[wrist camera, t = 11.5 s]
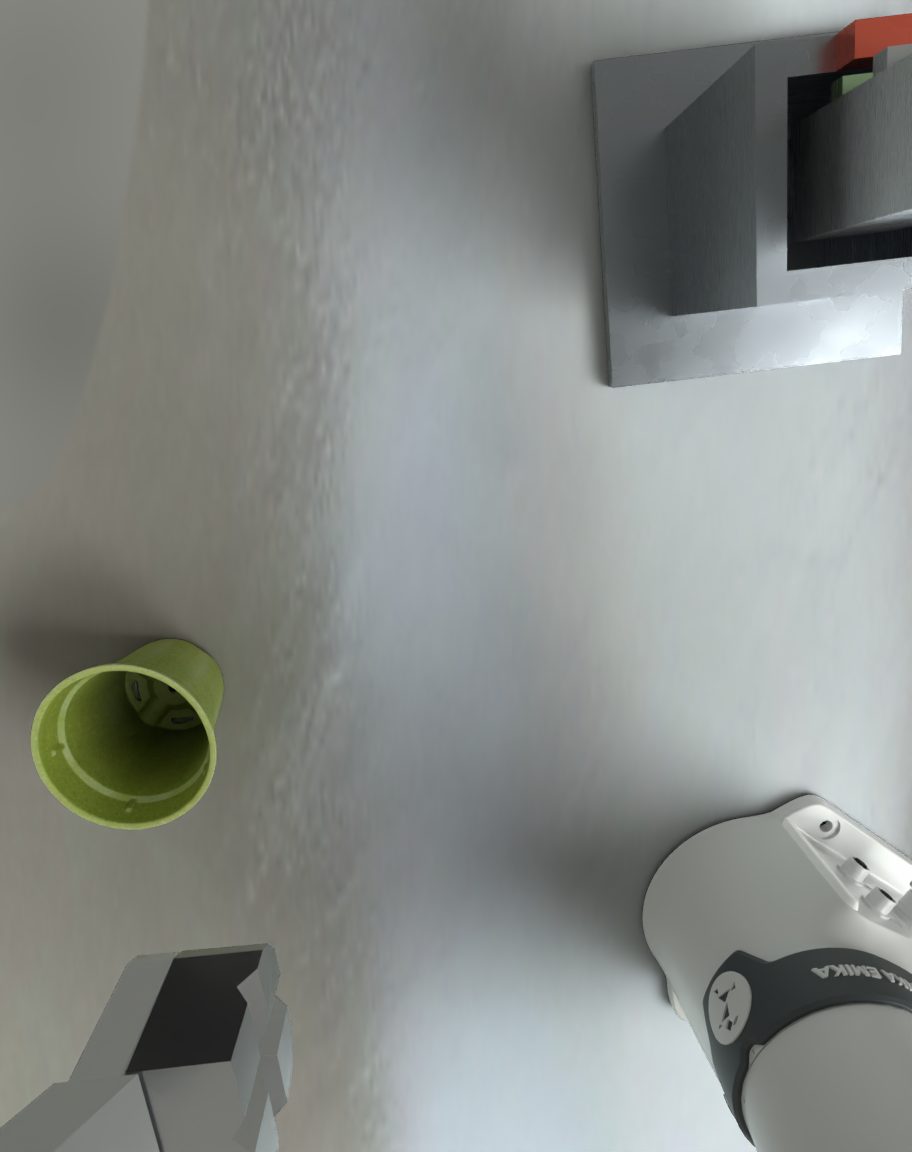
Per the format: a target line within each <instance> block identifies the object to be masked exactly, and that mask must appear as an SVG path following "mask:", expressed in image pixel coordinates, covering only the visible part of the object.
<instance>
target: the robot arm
mask: <svg viewBox="0 0 912 1152" xmlns="http://www.w3.org/2000/svg"><path fill="white" fill-rule="evenodd" d="M824 821H827V822H826V824H824V825H822V826H820V824H821V823H822V822H824ZM643 929H644V934H645V938H646V941H647V943H648V946H649V948H650V950H651V952H652V954H653V955H654V957H655V958H656V960H657V961H658V963H659V964H660V966H661V968H662V969H663V971H664V973H665V975H666V977H667V988H668V996H669V1000H670V1003H671V1005H672V1007H673V1009H674V1011H675V1013H676V1014H677V1016H678V1017H679V1018H681V1019H683V1020H685V1021H688V1022H689V1024H690V1026H691V1027H692V1029H693V1031H694V1033H695V1035H696V1037H697V1039H698V1041H699V1043H700V1045H701V1047H702V1049H703V1051H704V1053H705V1055H706V1057H707V1059H708V1061H709V1063H710V1065H711V1067H712V1068H713V1070H714V1072H715V1074H716V1076H717V1078H718V1080H719V1081H720V1083H721V1086H722V1088H723V1091H724V1093H725V1094H724V1095H723V1096H724V1098H725V1100H726V1103H727V1105H728V1107H729V1109H730V1111H731V1113H732V1114H733V1116H734V1117H735V1119H736V1121H737V1123H738V1125H739V1127H740V1129H741V1131H742V1132H743V1134H744V1135H745V1137H746V1138H747V1139H748V1140H749V1141H750V1143H751V1144H752V1145H753V1146H755V1147H756V1150H757V1152H912V860H911V859H909V858H908V857H906V856H905V855H903V854H902V853H901V852H899V851H898V850H896V849H895V848H893V847H892V846H890V845H889V844H888V843H886V842H885V841H883V840H882V839H880V838H879V837H877V836H876V835H875V834H873V833H872V832H870V831H869V830H867V829H866V828H864V827H863V826H862V825H860V824H859V823H857V822H856V821H854V820H853V819H851V818H850V817H849V816H847V815H846V814H844V813H843V812H841V811H840V810H838V809H837V808H836V807H834V806H833V805H831V804H830V803H828V802H827V801H825V800H824V799H822V798H821V797H819V796H816V795H805V796H802V797H799V798H796V799H794V800H792V801H790V802H788V803H786V804H784V805H782V806H781V807H779V808H777V809H775V810H774V811H772V812H769V813H766V814H762V815H757V816H751V817H744V818H738V819H734V820H729V821H726V822H723V823H720V824H717V825H714V826H712V827H709V828H707V829H705V830H703V831H701V832H699V833H697V834H696V835H694V836H692V837H691V838H689V839H688V840H686V841H685V842H684V843H682V844H681V845H680V846H679V847H678V848H676V849H675V850H674V851H673V852H672V853H671V854H670V855H669V856H668V857H667V858H666V860H665V861H664V862H663V863H662V865H661V866H660V867H659V869H658V870H657V872H656V873H655V875H654V877H653V879H652V881H651V883H650V885H649V887H648V890H647V893H646V896H645V900H644V905H643ZM279 977H280V969H279V965H278V961H277V957H276V953H275V949H274V948H273V947H272V946H271V945H270V944H269V943H266V944H254V945H243V946H232V947H221V948H209V949H198V950H187V951H182V952H172V953H161V954H151V955H141V956H137V957H135V958H134V959H133V960H132V961H130V962H129V963H128V964H127V966H126V967H125V969H124V971H123V973H122V975H121V977H120V979H119V981H118V983H117V985H116V987H115V989H114V991H113V993H112V995H111V997H110V999H109V1001H108V1003H107V1005H106V1007H105V1009H104V1011H103V1013H102V1015H101V1017H100V1019H99V1021H98V1023H97V1025H96V1027H95V1029H94V1031H93V1033H92V1035H91V1037H90V1039H89V1041H88V1043H87V1045H86V1047H85V1049H84V1051H83V1053H82V1055H81V1057H80V1059H79V1061H78V1063H77V1065H76V1067H75V1069H74V1071H73V1073H72V1075H71V1077H70V1079H69V1081H68V1082H62V1083H54V1084H53V1085H51V1086H50V1087H49V1088H48V1089H47V1090H45V1091H44V1092H43V1093H42V1094H41V1095H39V1096H38V1097H37V1098H36V1099H35V1100H33V1101H32V1102H31V1103H30V1104H29V1105H27V1106H26V1107H25V1108H24V1109H23V1110H21V1111H20V1112H19V1113H18V1114H17V1115H15V1116H14V1117H13V1118H12V1119H11V1120H9V1121H8V1122H7V1123H6V1124H5V1125H3V1126H2V1127H1V1128H0V1152H277V1151H278V1146H279V1139H278V1134H277V1129H276V1125H275V1120H274V1117H275V1115H276V1114H277V1113H278V1112H279V1111H280V1110H281V1109H282V1107H283V1106H284V1105H285V1104H286V1103H287V1100H288V1094H289V1089H290V1083H291V1077H292V1058H293V1041H292V1029H291V1021H290V1016H289V1011H288V1006H287V1005H286V1004H285V1003H284V1002H283V1001H281V1000H280V999H279V998H278V997H277V996H276V995H275V994H276V990H277V986H278V981H279Z"/></svg>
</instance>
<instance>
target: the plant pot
mask: <svg viewBox="0 0 912 1152" xmlns="http://www.w3.org/2000/svg"><path fill="white" fill-rule="evenodd" d="M134 681H137V682H138V691H139V695H140V697H141V701H139V700H137V699H136V697H135V695H134V691H133V687H132V684H133V682H134ZM169 686H171V687H172V688H174V689H175V690H176V691H170V689H169ZM223 695H224V681H223V677H222V674H221V671H220V669H219V667H218V665H217V664H216V662H215V661H214V659H213V658H212V657H211V656H209V655H208V654H206V653H205V652H203V651H202V650H200V649H199V648H197V647H196V646H194V645H193V644H192V643H189V642H187V641H183V640H178V639H162V640H157V641H154V642H151V643H149V644H147V645H145V646H143V647H141V648H139V649H137V650H136V651H134V652H133V653H131V654H129V655H128V656H126V657H124V658H123V659H121V660H119V661H117V662H116V663H109V664H102V665H97V666H93V667H90V668H87V669H84V670H81V671H79V672H77V673H74V674H73V675H71V676H69V677H67V678H66V679H64V680H63V681H61V682H60V683H59V684H58V685H56V686H55V687H54V688H53V689H52V690H51V691H50V692H49V693H48V694H47V696H46V697H45V698H44V700H43V701H42V702H41V704H40V706H39V707H38V709H37V712H36V714H35V716H34V719H33V723H32V729H31V740H30V743H31V753H32V757H33V760H34V764H35V767H36V770H37V772H38V774H39V776H40V778H41V780H42V781H43V783H44V784H45V785H46V787H47V788H48V790H49V791H50V792H51V793H52V794H53V795H54V796H55V798H56V799H57V800H58V801H59V802H60V803H62V804H63V805H64V806H65V807H67V808H68V809H69V810H71V811H72V812H74V813H75V814H77V815H78V816H80V817H82V818H84V819H86V820H89V821H91V822H94V823H96V824H99V825H102V826H106V827H110V828H116V829H127V830H139V829H146V828H151V827H156V826H160V825H163V824H166V823H168V822H170V821H173V820H174V819H176V818H178V817H180V816H181V815H183V814H185V813H186V812H187V811H189V810H190V809H191V808H192V807H193V806H194V805H195V804H196V803H197V802H198V801H199V800H200V799H201V797H202V796H203V795H204V793H205V792H206V790H207V788H208V787H209V784H210V782H211V780H212V777H213V774H214V771H215V767H216V760H217V744H216V738H215V734H214V729H215V726H216V722H217V718H218V715H219V711H220V707H221V704H222V700H223ZM186 717H188V718H189V717H193V718H192V720H190V721H188V722H185V723H174V722H172V721H171V719H172V718H186Z"/></svg>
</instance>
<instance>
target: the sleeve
mask: <svg viewBox="0 0 912 1152" xmlns="http://www.w3.org/2000/svg"><path fill="white" fill-rule="evenodd" d="M905 44H912V13H910V14H902V15H893V16H885V17H876V18H868V19H859V20H855V21H853V22H852V23H851V24H850V25H848V26H847V27H846V28H844V29H843V30H842V31H840V32H833V33H824V34H816V35H807V36H799V37H790V38H782V39H773V40H765V41H757V42H748V43H740V44H731V45H723V46H714V47H706V48H697V49H689V50H681V51H672V52H664V53H655V54H647V55H638V56H630V57H622V58H613V59H605V60H596V61H594V62H593V64H592V66H591V83H592V100H593V118H594V135H595V152H596V170H597V187H598V204H599V222H600V239H601V256H602V274H603V291H604V308H605V326H606V343H607V360H608V377H609V387H612V388H615V387H623V386H632V385H640V384H649V383H658V382H666V381H675V380H683V379H692V378H701V377H709V376H718V375H726V374H735V373H744V372H752V371H761V370H769V369H778V368H787V367H795V366H804V365H812V364H821V363H829V362H838V361H847V360H855V359H864V358H872V357H881V356H890V355H898V354H901V336H902V311H903V289H912V226H911V227H907V228H903V229H899V230H895V231H887V232H878V233H870V234H861V235H853V236H844V237H836V238H827V239H818V240H810V241H801V242H793V243H791V126H793V125H794V124H796V123H798V122H799V121H801V120H803V119H804V118H806V117H808V116H809V115H811V114H813V113H814V112H816V111H817V110H819V109H821V108H822V107H824V106H826V105H827V104H829V103H831V83H833V82H834V81H836V80H837V79H839V78H840V77H842V76H847V75H855V74H864V73H872V72H873V56H874V55H876V54H877V53H879V52H880V51H882V50H883V49H885V48H886V47H888V46H897V45H905Z"/></svg>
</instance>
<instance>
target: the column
mask: <svg viewBox="0 0 912 1152" xmlns="http://www.w3.org/2000/svg"><path fill="white" fill-rule="evenodd" d="M911 226H912V44H905V45H897V46H888V47H886V48H885V49H883V50H882V51H880V52H879V53H877V54H876V55H874V56H873V72H872V73H864V74H855V75H847V76H842V77H840V78H839V79H837V80H836V81H834V82H833V83H831V103H829V104H827V105H826V106H824V107H822V108H821V109H819V110H817V111H816V112H814V113H813V114H811V115H809V116H808V117H806V118H804V119H803V120H801V121H799V122H798V123H796V124H794V125H793V126H791V243H793V242H801V241H810V240H818V239H827V238H836V237H844V236H853V235H861V234H870V233H878V232H887V231H895V230H899V229H903V228H907V227H911Z"/></svg>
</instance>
